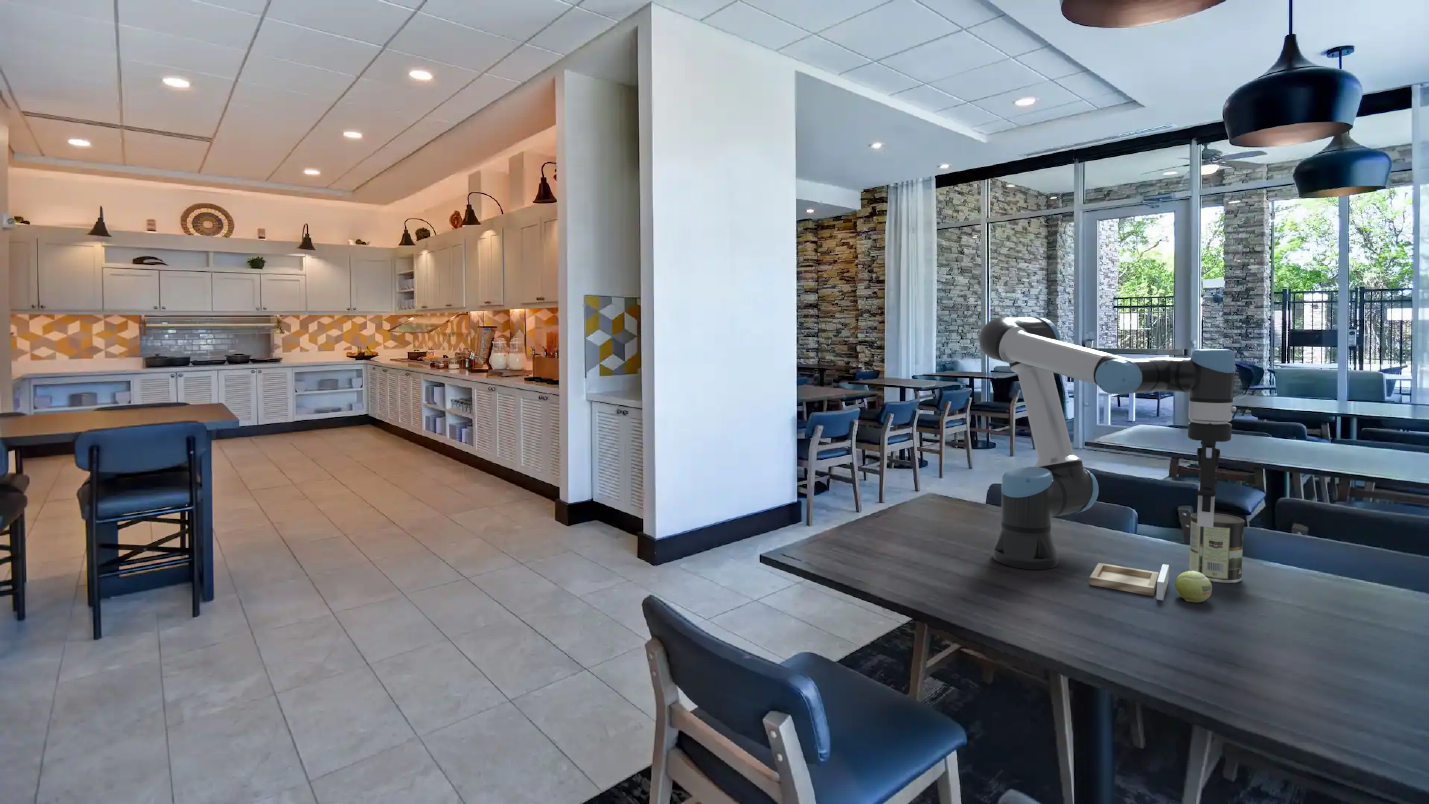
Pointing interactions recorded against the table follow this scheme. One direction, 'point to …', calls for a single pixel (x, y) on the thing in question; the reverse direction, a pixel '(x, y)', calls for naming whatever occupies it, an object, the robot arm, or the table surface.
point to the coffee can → (1217, 548)
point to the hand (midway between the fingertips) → (1204, 519)
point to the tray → (1124, 579)
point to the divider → (1162, 582)
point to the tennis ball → (1193, 586)
